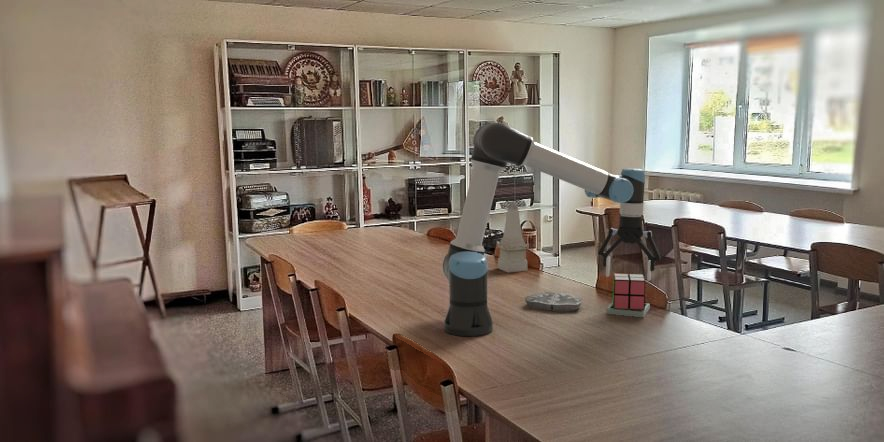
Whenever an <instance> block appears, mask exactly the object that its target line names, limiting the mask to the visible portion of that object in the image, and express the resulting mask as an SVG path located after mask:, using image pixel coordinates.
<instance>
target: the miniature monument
mask: <svg viewBox="0 0 884 442" xmlns="http://www.w3.org/2000/svg"><path fill="white" fill-rule="evenodd" d="M522 232H523V231H522V226H521V219H520V211H519V206H518V205H517V204H516V203H515V202H514V201H511V203H509V204H508V206H507V209H506V216H505V223H504V231H503V234H502V235H503V236H502V237H501V240H500V241H498V240H496V248H498V249H499V257H498V258H497V269H499V270H501V271H503V272H506V273H515V272H516V273H517V272H526V271H528V269H529V268H528V264H529V263H528V260H527V255H526V254H527V250H529V249H530V243H529V242H528V243H527V242H525V238H523V233H522Z"/></svg>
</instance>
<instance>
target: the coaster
mask: <svg viewBox="0 0 884 442" xmlns="http://www.w3.org/2000/svg"><path fill="white" fill-rule="evenodd" d="M650 306H651V304H650V303H647V302H645V310H630V309H628V310H626V309H614V308H613V301H612V302H611V303H610V304H609V305H608V307H607V308H606V315H614V314H615V316H623V315H624V317H632V316H634V318H635V317H636V318H642V317H643V319H644V318H645V316H646V315H647V313H648V312H649V310H650V308H651V307H650Z"/></svg>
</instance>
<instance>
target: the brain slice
mask: <svg viewBox="0 0 884 442" xmlns="http://www.w3.org/2000/svg"><path fill="white" fill-rule="evenodd" d="M524 298H525V299H524V301H525V303H526V304H527V306H528V307H530V308H531V309H534V310H540V311H546V312H547V311H548V312H559V311H560V312H575V311H576V310H577V309H578V308H579V307H580V305H581V304H582V302H583V298H580V297H579V296H577V295H573V294H571V293H565V292H558V293H557V292H556V293H555V292H550V291H548V292H546V291H545V292H539V293H538V292H537V293H536V294H532V295H528V296H527V297H524Z"/></svg>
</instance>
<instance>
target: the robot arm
mask: <svg viewBox="0 0 884 442" xmlns="http://www.w3.org/2000/svg"><path fill="white" fill-rule="evenodd" d="M472 141H473V142H472V143H473V144H472V145H473V148H472V153H471V156H470V162H471V163H472V165H473V169H472V174H471V177H470V181H469V185H468V189H467V192H466V196H465V197H466V198H465V201H464V205H463V210H462V214H461V217H460V222H459V225H458V229H457V233H456V237H455V238H454V239H453V240H451V241H450V243H449V246H448V250H447V253H446V255H445V256H444V258H443V262H442V271H443V275H444V277H445V278H446V280H447V281H448V283H449V285H448V286H449V291H448V292H449V295H448V296H449V306H448V309H447V312H446V315H445V320H444V321H443V330H444V331H445V332H446V333H447V334H450V335H453V336H460V337H479V336H484V335H487V334H490V333H491V332H493V330H494V321H493V319H492V315H491V312H490V310H489V307H488V306H489V305H488V270H489V269H488V268H489V266H488V261H487V257H486V256H485V253H486V249H485V247H484V246H483V241H484V237H485V233H486V230H487V229H486V228H487V224H488V222H489V221H488V220H489V217H490V213H491V209H492V205H493V201H494V197H495V193H496V189H497V185H498V180H499V177H500V174H501V172H503V171H505V170H506V169H507V166H508V165H507V164H512V165H515V166H517V167H522V166H526V167H529V168H531V169H533V170H535V171H538V172H541V173H543V174H546V175H548V176H551V177H553V178H555V179H558V180H560V181H562V182H565V183H568V184H570V185H573V186H576V187H578V188H580V189H583V190H584V193H585V195H586V197H588V198H594V199H596V198H597V199H599V198H602V199H604V200H605V199H606V200H608V201H612V202H614V203H617V204H619V214H620V215H619V217H618V228H617V229H616V228H614V227H611V228H609V229H608V233H607V237H606V238H605V240H604V242H603V244H602V245H601V247H600V249H599V250H598V253H597V255H599V256H602V258H603V259H602V260H603V261H602V262H603V263H602V266H603V267H605V277H606V278H608V277H609V276H610V273H611V256H609V255H610V254H611V253H612V252H614V250H615V249H616V248H617V247H618V246H619V245H621V243H622V242H623V243H624V244H637V246H639V248H640V249H641V250H642V251H643V253H644V254H645V255H646V256H647V258H648V259H649V260H648V261H647V275H646V277H647V278H646V281H647V282H650V281H651V280H652V279H651V278H652V272H654V271H655V269H656V261H660V260H661V258H662V256H661V253H660V251H659V249H658V246H657V245H656V243H655V240H654V237H653V231H652V230H648V231H644V230H643V219H644V217H643V216H642V215H644V198H645V184H646V175H645V170H643V168H634V167H633V168H631V167H628V168H622V169H621V171H620V174H612V173H610V172H607V171H605V170H604V169H601V168H598V167H595V166H593V165H591V164H588V163H586V162H584V161H581V160H579V159H577V158H574V157H572V156H569V155H568V154H564V153H562V152H559V151H558V150H555V149H552V148H551V147H548V146H545V145H543V144H541V143H538V142H536V141H534V139H533V137H532V136H530V135H527V134H525V133H523V132H522V131H520V130H519V129H516V128H514V127H513V126H511V125H509V124H507V123H504V122H494V121H492V122H487V123H484V124H483V125H481V126H480V127H479V128H478V129H477V130H476V132H475V134H474V135H473V140H472ZM616 234H617V235H618V237H619V238H618V239H617V240H616V241H615V242H614V243H613V244H612V245H611V246H610V247H609V248H608V249H607V251H605V250H606V248H607V247H608V245H609V243H610V241H611V240H612V238H613V237H614V236H615V235H616ZM642 237H645V238H646V239H647V241H648V243H649V245H650V248H651V250H652V251H650V249H649V248H648V246H647V245H646V244H645V242H644V240H643V239H642ZM652 252H653V253H652Z"/></svg>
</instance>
